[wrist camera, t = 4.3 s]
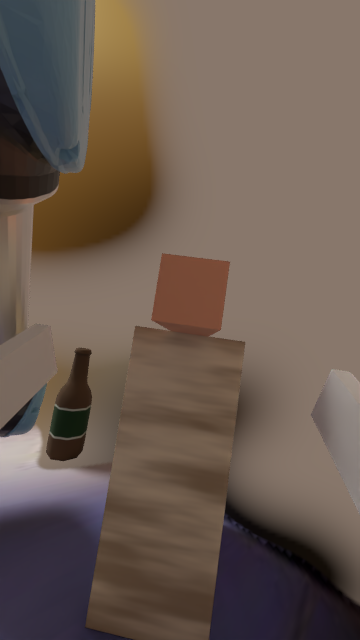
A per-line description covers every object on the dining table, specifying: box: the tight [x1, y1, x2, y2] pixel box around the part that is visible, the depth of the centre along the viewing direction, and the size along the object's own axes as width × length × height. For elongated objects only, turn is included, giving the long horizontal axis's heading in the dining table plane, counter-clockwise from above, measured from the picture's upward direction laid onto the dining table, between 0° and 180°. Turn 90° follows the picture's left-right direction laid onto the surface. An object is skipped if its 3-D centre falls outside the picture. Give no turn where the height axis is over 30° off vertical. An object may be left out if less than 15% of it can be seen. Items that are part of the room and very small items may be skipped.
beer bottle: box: [46, 348, 92, 461], centre depth 54 cm, size 8×8×24 cm
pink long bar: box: [151, 254, 230, 336], centre depth 28 cm, size 30×4×4 cm, turn 176°
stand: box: [85, 326, 245, 640], centre depth 33 cm, size 18×12×30 cm, turn 176°
